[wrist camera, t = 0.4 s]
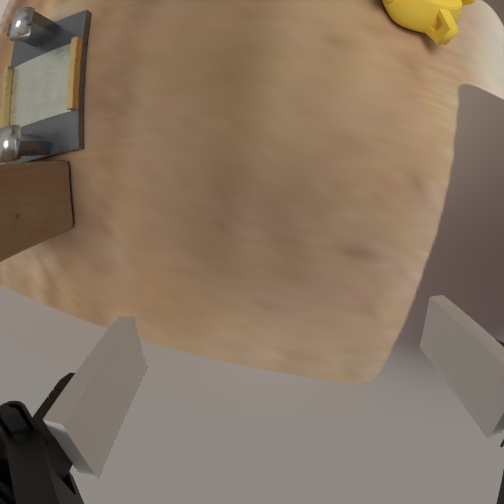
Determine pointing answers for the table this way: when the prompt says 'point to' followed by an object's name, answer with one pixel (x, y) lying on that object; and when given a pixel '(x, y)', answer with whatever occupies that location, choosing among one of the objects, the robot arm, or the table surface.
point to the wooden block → (33, 204)
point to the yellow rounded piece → (428, 16)
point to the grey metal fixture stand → (43, 87)
